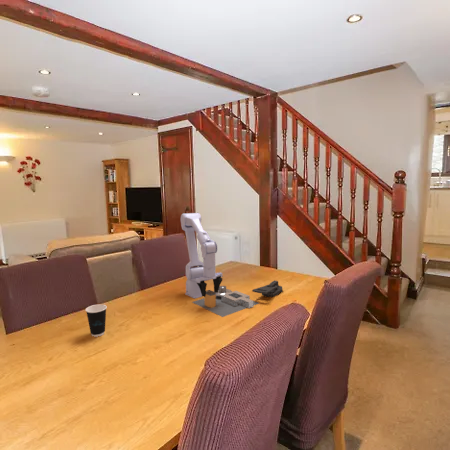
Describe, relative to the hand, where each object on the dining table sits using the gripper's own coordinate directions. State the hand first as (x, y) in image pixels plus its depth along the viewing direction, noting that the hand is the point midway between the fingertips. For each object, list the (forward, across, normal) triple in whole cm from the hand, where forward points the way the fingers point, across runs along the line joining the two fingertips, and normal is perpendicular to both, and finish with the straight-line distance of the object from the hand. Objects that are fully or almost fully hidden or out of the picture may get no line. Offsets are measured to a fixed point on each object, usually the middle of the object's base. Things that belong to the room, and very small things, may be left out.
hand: (210, 294), depth 155 cm
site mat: (+6, +8, -2) cm, 10 cm away
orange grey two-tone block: (+6, 0, 0) cm, 6 cm away
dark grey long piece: (+7, +32, -9) cm, 34 cm away
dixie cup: (+6, -51, +8) cm, 52 cm away
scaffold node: (+6, +13, -2) cm, 14 cm away
